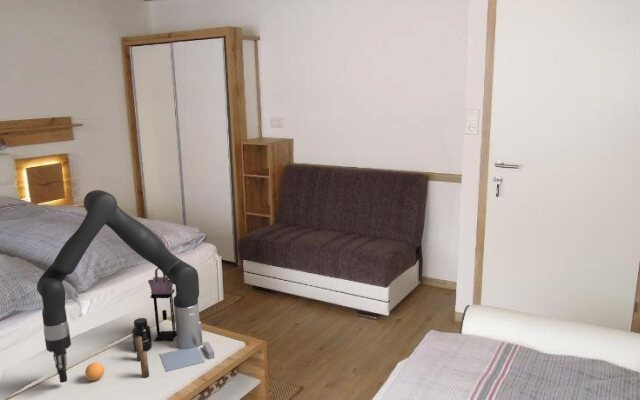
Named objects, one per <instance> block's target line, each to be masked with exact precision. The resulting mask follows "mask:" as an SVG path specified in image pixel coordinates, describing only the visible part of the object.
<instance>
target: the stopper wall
mask: <svg viewBox="0 0 640 400" xmlns="http://www.w3.org/2000/svg"><path fill="white" fill-rule="evenodd" d="M202 346H203V350H204V352H205V354H206V356H207V357H208V359H209V360H212V359H215V351H214V349H213V347H212V346H211V344H210V343H209V341H205V342H204V341H203V344H202Z"/></svg>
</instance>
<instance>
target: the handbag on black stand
mask: <svg viewBox="0 0 640 400" xmlns="http://www.w3.org/2000/svg"><path fill="white" fill-rule="evenodd" d="M158 270H160V269H159V268H158V267H156V269H155V271H154V277H152V279H148V280H147V282H148V284H149V287H150V294H151V295H150V297H149V298H150V299H153V307H154V317H155V319H154V320H155V327H156V328H155V329H156V336H155V338H154V339H153V340H154V342H173V341H174V340H175V339H176V338H177V335H176V324H175V313H174V302H173V299H174V297H173V294H174V292H175V291H176V288H174V289H173V285H174V284H173V283H172V282H171V281H170V280H169V279H168V277H167V276H166V275H165V274H164V273H163V272H162V276H158V272H159V271H158ZM158 299H169V304H170V306H169V307H170V315H171V317H170V318H171V327H172V328H171V329H172V330H160V322H159V321H160V319H159V312H158V311H159V310H158V302H157V300H158ZM161 312H162V321H166V320H167V319H168V317H167V316H168V315H167V309H162V311H161Z"/></svg>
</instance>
